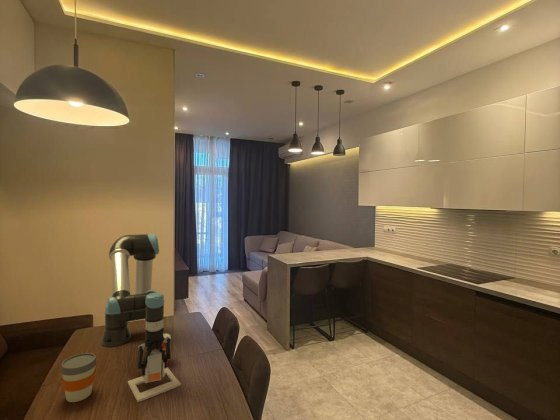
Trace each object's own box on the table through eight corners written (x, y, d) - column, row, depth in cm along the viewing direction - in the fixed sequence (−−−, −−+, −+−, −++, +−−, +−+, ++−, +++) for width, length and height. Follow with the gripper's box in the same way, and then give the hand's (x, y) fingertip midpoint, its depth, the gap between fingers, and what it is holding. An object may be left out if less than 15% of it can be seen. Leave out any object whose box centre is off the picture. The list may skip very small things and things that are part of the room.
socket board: (127, 383, 135) (127, 371, 135) (167, 369, 147) (167, 358, 146) (137, 402, 123) (137, 389, 123) (180, 385, 134) (180, 373, 134)
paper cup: (165, 368, 147) (165, 340, 147) (151, 366, 149) (151, 338, 148) (173, 360, 155) (174, 333, 154) (160, 358, 157) (160, 332, 156)
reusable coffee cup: (91, 402, 122) (91, 366, 122) (55, 407, 119) (55, 370, 118) (100, 383, 134) (100, 351, 134) (67, 388, 131) (67, 354, 130)
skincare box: (146, 383, 131) (147, 356, 131) (146, 377, 135) (147, 352, 135) (161, 380, 134) (161, 354, 133) (161, 375, 138) (161, 349, 137)
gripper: (133, 337, 124) (132, 391, 125) (179, 325, 137) (178, 374, 138) (128, 331, 130) (128, 382, 131) (173, 320, 143) (172, 367, 144)
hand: (154, 378), depth 135 cm, fingers closed on skincare box, 7 cm apart
